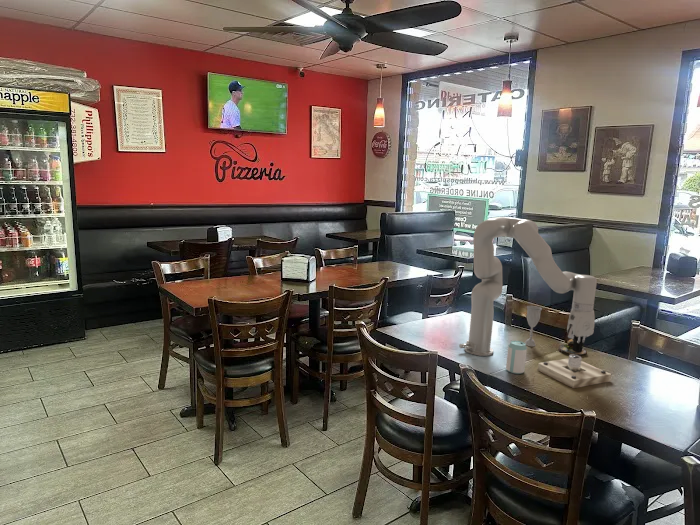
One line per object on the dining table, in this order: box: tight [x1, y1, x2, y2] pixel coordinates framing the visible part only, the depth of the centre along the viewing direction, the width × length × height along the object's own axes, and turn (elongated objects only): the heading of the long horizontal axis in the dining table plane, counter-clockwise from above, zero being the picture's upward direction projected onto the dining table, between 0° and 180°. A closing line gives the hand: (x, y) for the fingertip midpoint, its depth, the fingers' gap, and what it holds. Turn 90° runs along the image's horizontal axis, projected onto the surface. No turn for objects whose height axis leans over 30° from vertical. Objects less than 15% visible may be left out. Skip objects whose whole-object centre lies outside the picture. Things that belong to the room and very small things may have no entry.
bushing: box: [567, 354, 583, 372], centre depth 194 cm, size 5×5×8 cm
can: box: [505, 340, 528, 375], centre depth 195 cm, size 7×7×12 cm
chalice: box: [524, 305, 543, 347], centre depth 228 cm, size 7×7×18 cm
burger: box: [558, 338, 588, 356], centre depth 221 cm, size 12×12×8 cm
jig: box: [536, 357, 612, 389], centre depth 194 cm, size 20×18×4 cm
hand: (577, 351), depth 193 cm, fingers closed
